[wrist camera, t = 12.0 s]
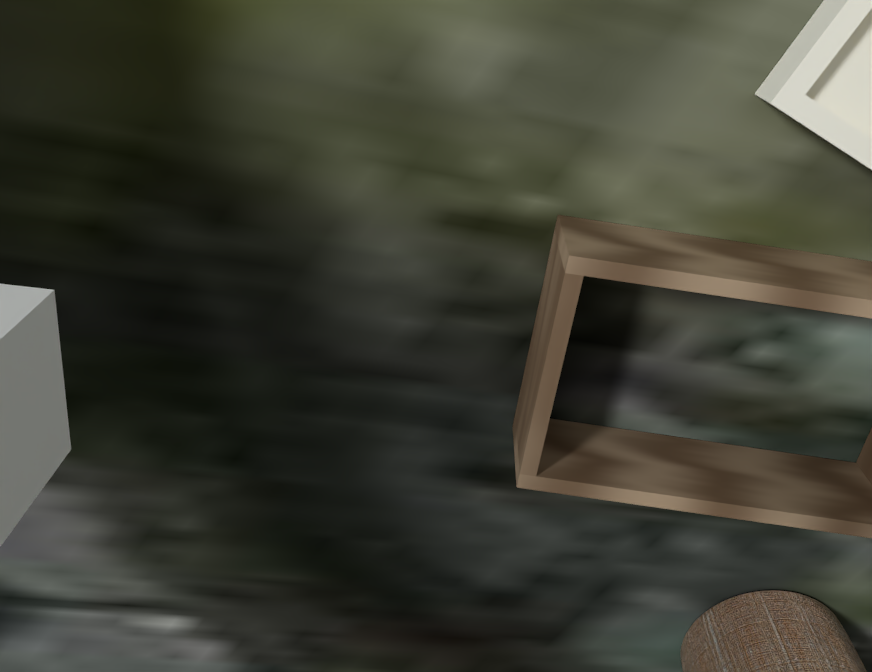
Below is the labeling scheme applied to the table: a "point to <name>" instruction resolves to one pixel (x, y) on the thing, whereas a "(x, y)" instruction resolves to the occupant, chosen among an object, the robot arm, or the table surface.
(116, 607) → the table surface
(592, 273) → the open wooden box frame
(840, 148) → the plate
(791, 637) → the planter
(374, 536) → the table surface
